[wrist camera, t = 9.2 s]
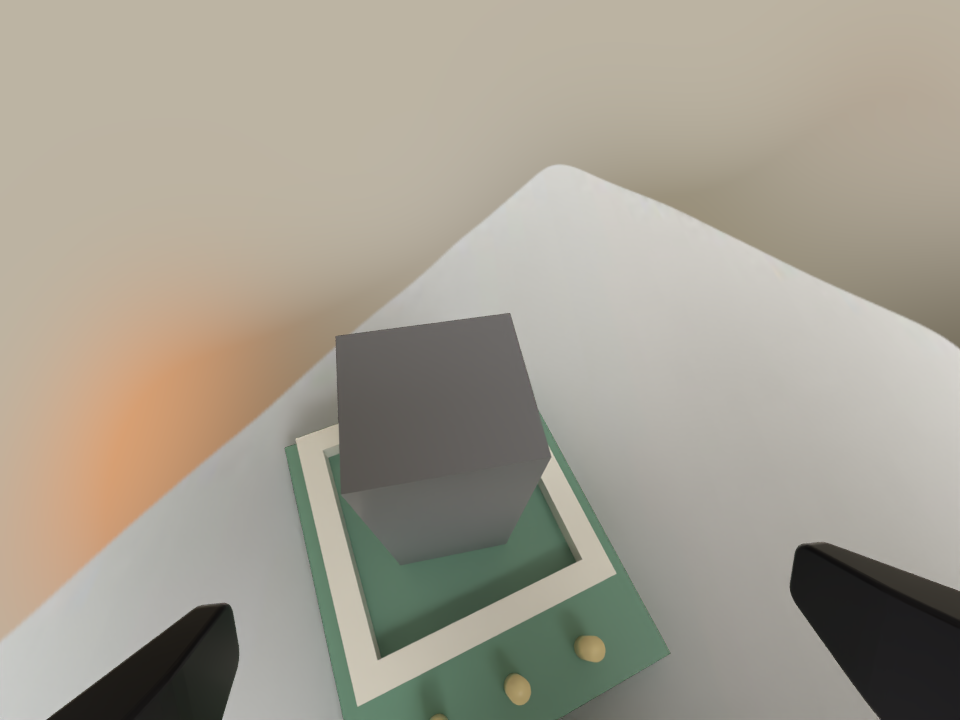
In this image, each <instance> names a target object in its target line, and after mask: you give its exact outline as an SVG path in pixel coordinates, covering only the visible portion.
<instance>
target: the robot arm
mask: <svg viewBox="0 0 960 720" xmlns="http://www.w3.org/2000/svg"><path fill="white" fill-rule="evenodd" d="M790 592H791V595H792V598H793V600H794V602H795V603H796V605H797V606H798V608H799V609H800V610H801V612H802V613H803V615H804V616H805V617H806V619H807V620H808V622H809V623H810V624H811V626H812V627H813V629H814V630H815V632H816V633H817V634H818V636H819V637H820V639H821V640H822V641H823V643H824V644H825V646H826V647H827V648H828V650H829V651H830V653H831V654H832V655H833V657H834V658H835V660H836V661H837V662H838V664H839V665H840V667H841V668H842V669H843V671H844V672H845V674H846V675H847V676H848V678H849V679H850V681H851V682H852V683H853V685H854V686H855V687H856V689H857V690H858V691H859V693H860V694H861V696H862V697H863V698H864V700H865V701H866V702H867V703H868V705H869V706H870V707H871V708H872V710H873V711H874V712H875V713H876V715H877V716H878V717H879V719H880V720H960V591H958V590H955V589H952V588H950V587H947V586H944V585H941V584H939V583H936V582H933V581H930V580H928V579H925V578H922V577H919V576H917V575H914V574H911V573H909V572H906V571H903V570H900V569H898V568H895V567H892V566H889V565H887V564H884V563H881V562H878V561H876V560H873V559H870V558H867V557H865V556H862V555H859V554H857V553H854V552H851V551H848V550H846V549H843V548H840V547H837V546H835V545H832V544H829V543H825V542H815V543H806V544H801V545H799V546H798V547H797V549H796V551H795V555H794V561H793V567H792V574H791V580H790ZM238 662H239V645H238V639H237V633H236V627H235V621H234V616H233V611H232V608H231V606H230V605H229V604H227V603H218V604H208V605H201V606H198V607H196V608H195V609H193V610H192V611H190V612H189V613H188V614H186V615H185V616H184V617H182V618H181V619H180V620H178V621H177V622H176V623H174V624H173V625H172V626H170V627H169V628H168V629H166V630H165V631H164V632H162V633H161V634H160V635H158V636H157V637H156V638H154V639H153V640H152V641H150V642H149V643H148V644H146V645H145V646H144V647H142V648H141V649H140V650H138V651H137V652H136V653H134V654H133V655H132V656H130V657H129V658H128V659H126V660H125V661H124V662H122V663H121V664H120V665H118V666H117V667H116V668H114V669H113V670H112V671H110V672H109V673H108V674H106V675H105V676H104V677H102V678H101V679H100V680H98V681H97V682H96V683H94V684H93V685H92V686H90V687H89V688H88V689H86V690H85V691H84V692H82V693H81V694H80V695H78V696H77V697H76V698H74V699H73V700H72V701H71V702H69V703H68V704H67V705H65V706H64V707H63V708H61V709H60V710H59V711H57V712H56V713H55V714H53V715H52V716H51V717H49V718H48V719H47V720H222V717H223V714H224V711H225V707H226V704H227V701H228V697H229V694H230V691H231V687H232V684H233V681H234V677H235V674H236V671H237V667H238Z"/></svg>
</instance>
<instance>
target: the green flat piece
mask: <svg viewBox="0 0 960 720" xmlns="http://www.w3.org/2000/svg"><path fill="white" fill-rule="evenodd" d="M538 412H539V410H538ZM539 415H540V419H541V422H542V426H543V429H544V432H545V436H546V439H547V443H548V446H549V450H550V453H551V459H550V461H549V463H548V465H547V467H546V468H545V470H544V472H543V474H542V476H541V478H540V480H539V482H538V484H537V486H536V488H535V489H534V491H533V493H532V495H531V497H530V499H529V501H528V503H527V505H526V507H525V509H524V511H523V512H522V514H521V516H520V518H519V520H518V522H517V524H516V526H515V528H514V530H513V532H512V533H511V535H510V537H509V539H508V541H507V543H506V544H503V545H498V546H493V547H489V548H484V549H479V550H474V551H469V552H464V553H459V554H454V555H449V556H444V557H440V558H435V559H430V560H425V561H420V562H415V563H410V564H405V565H400V564H399V563H398V562H397V561H396V559H395V558H394V557H393V556H392V555H391V553H390V552H389V551H388V550H387V549H386V548H385V546H384V545H383V544H382V543H381V542H380V540H379V539H378V538H377V537H376V536H375V535H374V533H373V532H372V531H371V530H370V529H369V527H368V526H367V525H366V524H365V523H364V521H363V520H362V519H361V518H360V517H359V516H358V514H357V513H356V512H355V511H354V510H353V508H352V507H351V506H350V505H349V504H348V503H347V501H346V500H345V499H344V498H343V497H342V495H341V483H340V453H339V423H338V424H336V425H333V426H330V427H327V428H324V429H321V430H319V431H316V432H313V433H310V434H307V435H304V436H302V437H299V438H296V444H294V445H291V446H288V447H286V448H285V452H286V456H287V461H288V466H289V470H290V475H291V479H292V484H293V489H294V493H295V498H296V502H297V507H298V512H299V516H300V521H301V526H302V530H303V535H304V539H305V544H306V549H307V553H308V558H309V562H310V567H311V572H312V576H313V581H314V586H315V590H316V595H317V599H318V604H319V609H320V613H321V618H322V622H323V627H324V632H325V636H326V641H327V646H328V650H329V655H330V659H331V664H332V669H333V673H334V678H335V682H336V687H337V692H338V696H339V701H340V706H341V710H342V715H343V719H344V720H558V719H559V718H561V717H563V716H565V715H566V714H568V713H570V712H571V711H573V710H575V709H577V708H578V707H580V706H582V705H583V704H585V703H587V702H588V701H590V700H592V699H594V698H595V697H597V696H599V695H600V694H602V693H604V692H606V691H607V690H609V689H611V688H612V687H614V686H616V685H618V684H619V683H621V682H623V681H624V680H626V679H628V678H630V677H631V676H633V675H635V674H636V673H638V672H640V671H641V670H643V669H645V668H647V667H648V666H650V665H652V664H653V663H655V662H657V661H659V660H660V659H662V658H664V657H665V656H667V655H669V654H671V653H670V651H669V650H668V648H667V646H666V644H665V642H664V640H663V639H662V637H661V635H660V633H659V631H658V629H657V627H656V626H655V624H654V622H653V620H652V618H651V616H650V615H649V613H648V611H647V609H646V607H645V605H644V604H643V602H642V600H641V598H640V596H639V594H638V593H637V591H636V589H635V587H634V585H633V583H632V581H631V580H630V578H629V576H628V574H627V572H626V570H625V569H624V567H623V565H622V563H621V561H620V559H619V558H618V556H617V554H616V552H615V550H614V548H613V547H612V545H611V543H610V541H609V539H608V537H607V535H606V534H605V532H604V530H603V528H602V526H601V524H600V523H599V521H598V519H597V517H596V515H595V513H594V512H593V510H592V508H591V506H590V504H589V502H588V501H587V499H586V497H585V495H584V493H583V491H582V489H581V488H580V486H579V484H578V482H577V480H576V478H575V477H574V475H573V473H572V471H571V469H570V467H569V466H568V464H567V462H566V460H565V458H564V456H563V455H562V453H561V451H560V449H559V447H558V445H557V443H556V442H555V440H554V438H553V436H552V434H551V432H550V431H549V429H548V427H547V425H546V423H545V421H544V420H543V418H542V416H541V414H540V412H539Z"/></svg>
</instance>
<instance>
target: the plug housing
mask: <svg viewBox="0 0 960 720" xmlns="http://www.w3.org/2000/svg"><path fill="white" fill-rule="evenodd" d="M336 363H337V393H338V423H339V453H340V483H341V495H342V497H343V498H344V499H345V500H346V501H347V503H348V504H349V505H350V506H351V507H352V508H353V510H354V511H355V512H356V513H357V514H358V516H359V517H360V518H361V519H362V520H363V521H364V523H365V524H366V525H367V526H368V527H369V529H370V530H371V531H372V532H373V533H374V535H375V536H376V537H377V538H378V539H379V540H380V542H381V543H382V544H383V545H384V546H385V548H386V549H387V550H388V551H389V552H390V553H391V555H392V556H393V557H394V558H395V559H396V561H397V562H398V563H399V564H400V565H405V564H410V563H415V562H420V561H425V560H430V559H435V558H440V557H444V556H449V555H454V554H459V553H464V552H469V551H474V550H479V549H484V548H489V547H493V546H498V545H503V544H506V543H507V541H508V539H509V537H510V535H511V533H512V532H513V530H514V528H515V526H516V524H517V522H518V520H519V518H520V516H521V514H522V512H523V511H524V509H525V507H526V505H527V503H528V501H529V499H530V497H531V495H532V493H533V491H534V489H535V488H536V486H537V484H538V482H539V480H540V478H541V476H542V474H543V472H544V470H545V468H546V467H547V465H548V463H549V461H550V459H551V453H550V450H549V446H548V443H547V439H546V436H545V432H544V429H543V426H542V422H541V419H540V415H539V412H538V408H537V405H536V401H535V398H534V394H533V391H532V387H531V384H530V380H529V377H528V373H527V370H526V367H525V363H524V360H523V356H522V353H521V349H520V346H519V342H518V339H517V335H516V332H515V328H514V325H513V321H512V318H511V314H510V313H507V314H499V315H492V316H484V317H476V318H469V319H461V320H454V321H446V322H439V323H431V324H423V325H416V326H408V327H401V328H393V329H386V330H378V331H370V332H363V333H355V334H348V335H341V336H336Z"/></svg>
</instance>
